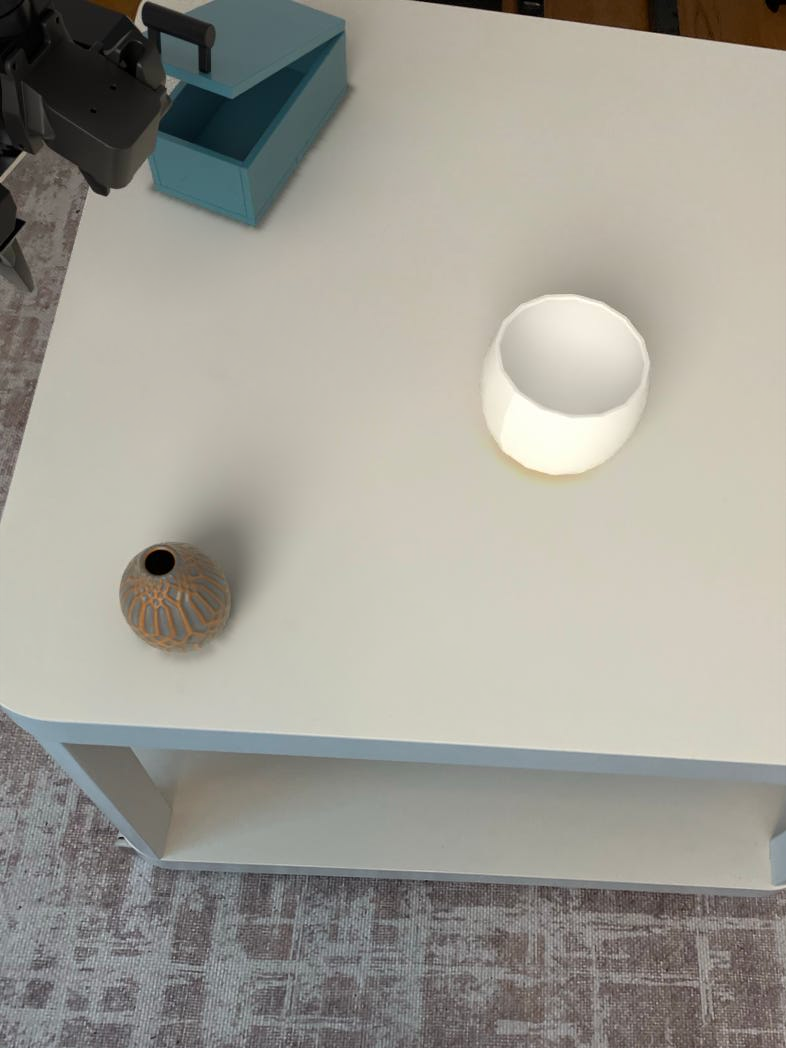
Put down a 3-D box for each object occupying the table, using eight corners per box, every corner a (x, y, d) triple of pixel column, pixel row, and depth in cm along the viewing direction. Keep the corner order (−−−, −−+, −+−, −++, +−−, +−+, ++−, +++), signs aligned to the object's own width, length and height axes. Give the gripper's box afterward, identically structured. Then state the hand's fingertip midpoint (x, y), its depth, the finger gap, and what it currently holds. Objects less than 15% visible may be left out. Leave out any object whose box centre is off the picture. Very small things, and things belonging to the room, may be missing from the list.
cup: (655, 448, 73) (693, 368, 64) (545, 530, 69) (570, 457, 60) (551, 349, 76) (575, 261, 67) (440, 423, 72) (450, 338, 63)
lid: (232, 99, 66) (232, 38, 63) (115, 56, 67) (109, -7, 64) (345, 30, 80) (349, -24, 77) (247, -6, 81) (248, -60, 78)
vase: (255, 601, 64) (239, 541, 56) (203, 682, 62) (178, 631, 54) (170, 560, 65) (141, 495, 57) (114, 639, 62) (76, 582, 54)
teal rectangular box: (255, 227, 78) (247, 169, 73) (155, 189, 78) (139, 130, 73) (347, 90, 86) (345, 30, 80) (255, 57, 86) (248, -6, 81)
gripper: (10, 164, 40) (105, 389, 55) (206, -62, 48) (244, 188, 62) (-215, 81, 41) (-63, 325, 55) (14, -130, 48) (96, 133, 63)
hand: (65, 239), depth 59 cm, fingers open, 9 cm apart
